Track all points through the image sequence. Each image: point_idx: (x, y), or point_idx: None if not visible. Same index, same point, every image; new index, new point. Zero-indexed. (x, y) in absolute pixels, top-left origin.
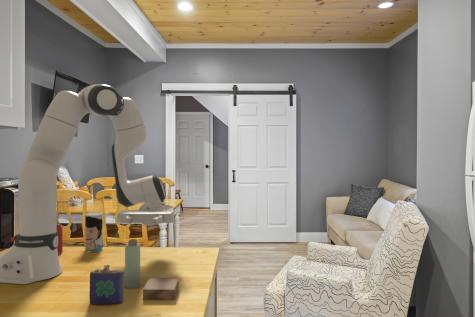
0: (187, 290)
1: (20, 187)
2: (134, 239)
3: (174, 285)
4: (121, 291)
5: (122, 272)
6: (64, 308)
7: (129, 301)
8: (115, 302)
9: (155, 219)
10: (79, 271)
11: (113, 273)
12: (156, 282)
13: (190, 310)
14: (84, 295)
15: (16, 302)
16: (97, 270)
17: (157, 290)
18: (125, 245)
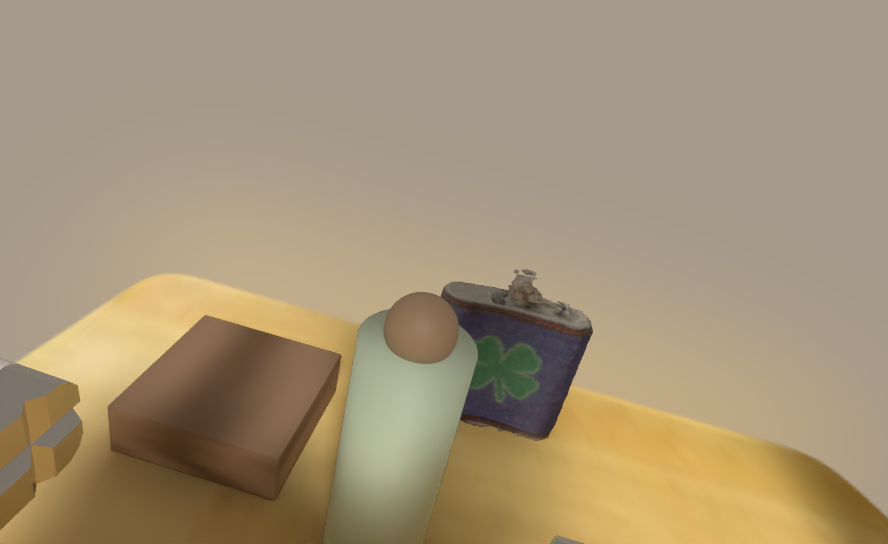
0: (85, 409)
1: None
2: (413, 293)
3: (183, 343)
4: None
5: (446, 285)
6: (628, 421)
7: None
8: None
9: (43, 375)
10: None
11: (484, 286)
12: (257, 396)
13: (187, 284)
14: (606, 511)
15: (864, 528)
16: (560, 302)
17: (277, 339)
18: (473, 346)
